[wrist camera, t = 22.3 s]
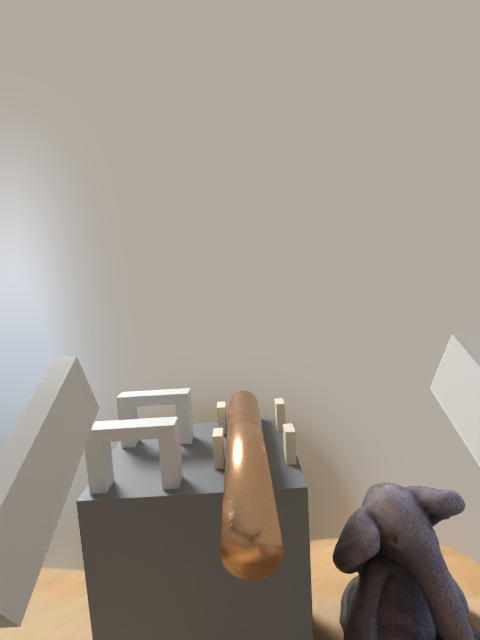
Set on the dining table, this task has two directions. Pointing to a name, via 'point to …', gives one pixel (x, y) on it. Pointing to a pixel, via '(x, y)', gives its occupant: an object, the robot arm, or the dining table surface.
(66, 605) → the dining table surface
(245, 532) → the copper tube
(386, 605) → the elephant
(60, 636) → the dining table surface
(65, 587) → the dining table surface
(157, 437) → the grey pedestal with pegs
